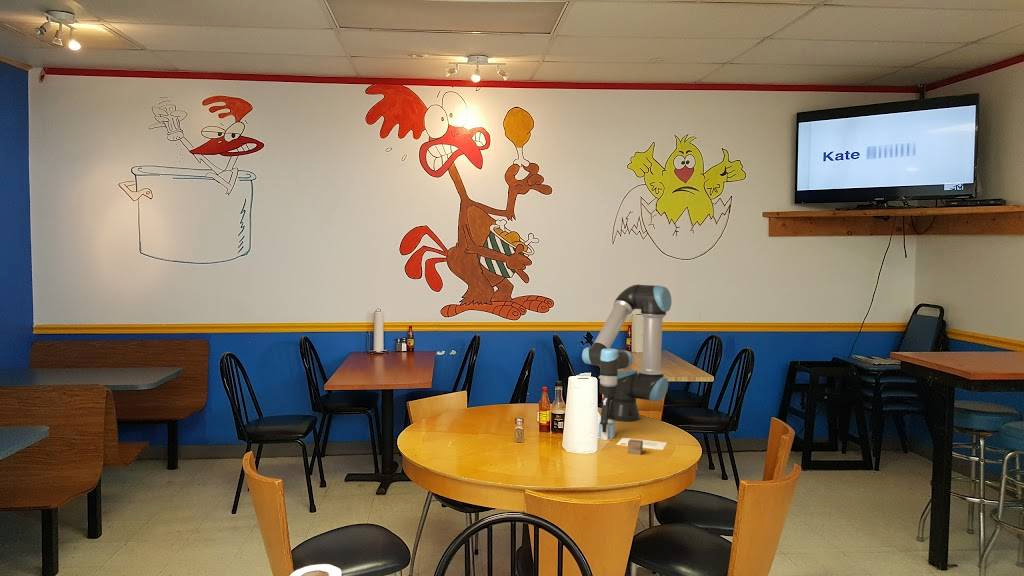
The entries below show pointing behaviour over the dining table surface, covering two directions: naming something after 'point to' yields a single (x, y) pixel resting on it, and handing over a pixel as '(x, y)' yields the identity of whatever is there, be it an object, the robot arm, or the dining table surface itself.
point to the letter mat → (644, 443)
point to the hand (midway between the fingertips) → (606, 436)
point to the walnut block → (635, 446)
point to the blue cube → (609, 430)
